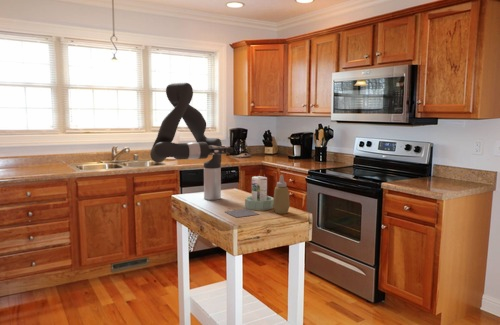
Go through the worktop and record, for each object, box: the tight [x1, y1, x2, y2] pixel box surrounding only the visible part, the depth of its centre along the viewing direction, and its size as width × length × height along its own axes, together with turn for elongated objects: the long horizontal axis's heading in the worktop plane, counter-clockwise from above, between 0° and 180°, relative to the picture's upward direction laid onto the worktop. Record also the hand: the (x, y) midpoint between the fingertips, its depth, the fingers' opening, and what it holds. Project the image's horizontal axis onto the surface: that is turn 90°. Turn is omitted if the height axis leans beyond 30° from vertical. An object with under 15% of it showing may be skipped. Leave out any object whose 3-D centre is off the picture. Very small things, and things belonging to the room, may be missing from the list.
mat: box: [224, 208, 260, 219], centre depth 185 cm, size 12×12×1 cm
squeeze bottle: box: [273, 174, 291, 215], centre depth 185 cm, size 8×8×18 cm
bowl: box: [244, 195, 274, 211], centre depth 198 cm, size 14×14×4 cm
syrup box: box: [251, 175, 268, 201], centre depth 197 cm, size 6×6×14 cm
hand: (228, 149), depth 184 cm, fingers open, 8 cm apart
